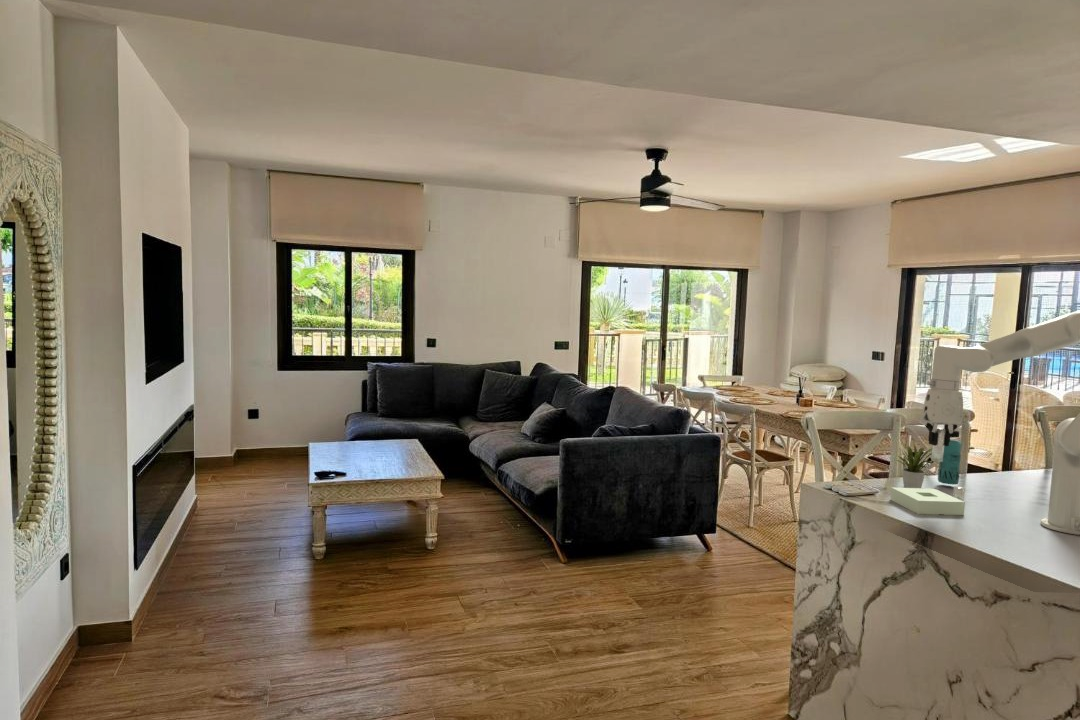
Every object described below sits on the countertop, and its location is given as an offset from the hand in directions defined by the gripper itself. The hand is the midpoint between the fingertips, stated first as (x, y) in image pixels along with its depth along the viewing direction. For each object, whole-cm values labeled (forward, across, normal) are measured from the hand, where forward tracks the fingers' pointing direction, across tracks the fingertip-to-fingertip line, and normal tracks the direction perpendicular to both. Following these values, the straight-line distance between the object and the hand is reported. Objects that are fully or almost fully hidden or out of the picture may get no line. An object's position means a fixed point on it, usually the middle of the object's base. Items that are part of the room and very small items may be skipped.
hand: (938, 444), depth 203 cm
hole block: (+20, -2, 0) cm, 20 cm away
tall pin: (+5, 0, 0) cm, 5 cm away
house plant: (+20, +8, +22) cm, 31 cm away
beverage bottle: (+20, +22, +27) cm, 40 cm away
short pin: (+20, +12, +6) cm, 24 cm away
